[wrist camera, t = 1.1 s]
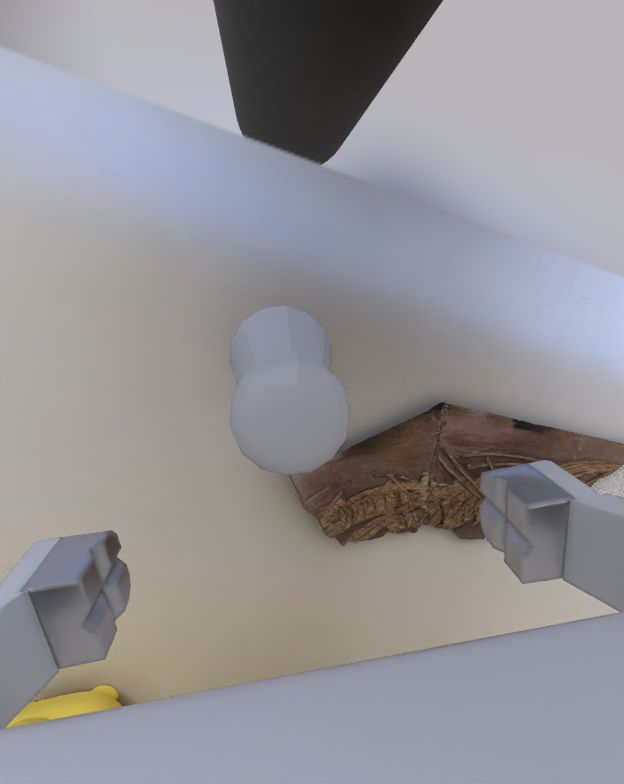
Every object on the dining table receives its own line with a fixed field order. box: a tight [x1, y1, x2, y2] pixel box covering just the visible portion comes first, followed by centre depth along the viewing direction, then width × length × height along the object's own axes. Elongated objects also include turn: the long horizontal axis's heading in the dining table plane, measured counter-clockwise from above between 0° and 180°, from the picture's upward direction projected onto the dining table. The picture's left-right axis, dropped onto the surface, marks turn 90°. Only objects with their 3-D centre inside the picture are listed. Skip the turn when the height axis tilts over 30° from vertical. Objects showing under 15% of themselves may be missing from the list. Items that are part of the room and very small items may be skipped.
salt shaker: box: [230, 305, 350, 475], centre depth 20 cm, size 6×6×13 cm
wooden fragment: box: [289, 402, 624, 546], centre depth 30 cm, size 26×11×1 cm, turn 89°
